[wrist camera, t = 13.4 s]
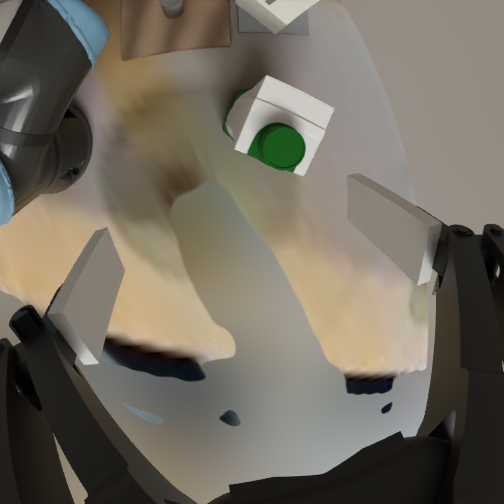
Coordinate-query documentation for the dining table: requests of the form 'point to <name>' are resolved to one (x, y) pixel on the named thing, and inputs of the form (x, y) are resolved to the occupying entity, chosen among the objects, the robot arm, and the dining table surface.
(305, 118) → the milk carton
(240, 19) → the mat
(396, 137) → the dining table surface
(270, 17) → the white drawer box
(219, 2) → the post stand
